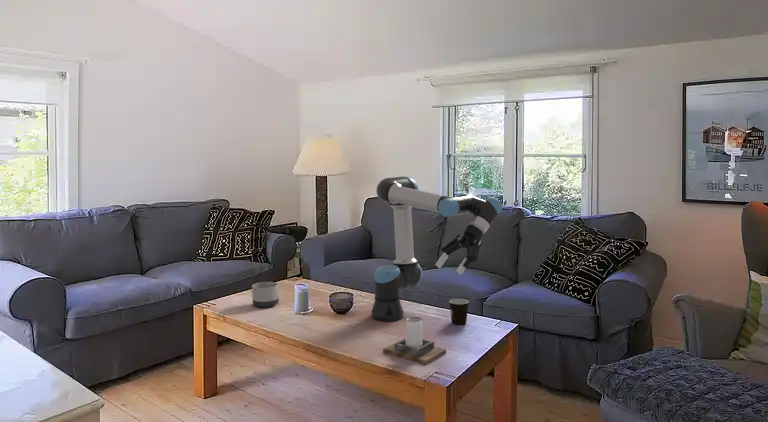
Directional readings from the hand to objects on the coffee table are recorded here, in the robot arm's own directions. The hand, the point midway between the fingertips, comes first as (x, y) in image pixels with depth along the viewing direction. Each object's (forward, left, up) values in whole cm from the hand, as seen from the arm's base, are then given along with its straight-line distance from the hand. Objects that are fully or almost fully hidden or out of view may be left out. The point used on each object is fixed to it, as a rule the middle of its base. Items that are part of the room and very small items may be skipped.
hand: (447, 269), depth 223 cm
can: (-3, -19, -28) cm, 34 cm away
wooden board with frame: (-3, -19, -30) cm, 35 cm away
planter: (-100, -12, -30) cm, 105 cm away
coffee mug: (-8, +23, -30) cm, 39 cm away
